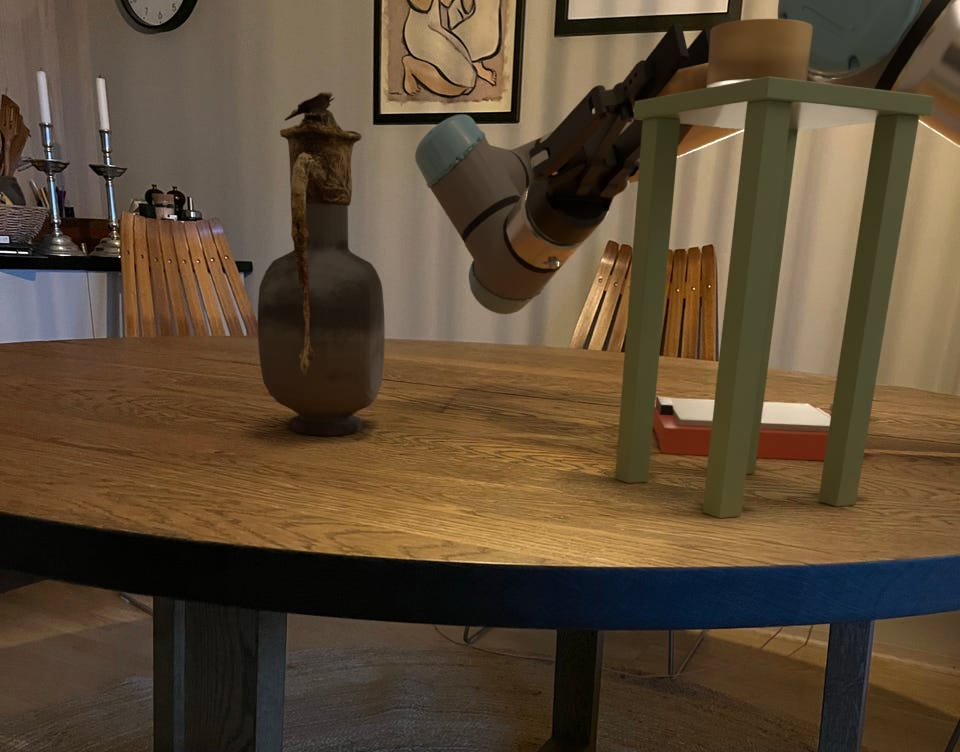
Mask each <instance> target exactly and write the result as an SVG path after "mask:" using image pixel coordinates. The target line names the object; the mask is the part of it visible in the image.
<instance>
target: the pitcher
mask: <svg viewBox="0 0 960 752" xmlns="http://www.w3.org/2000/svg"><path fill="white" fill-rule="evenodd" d="M333 95H334V94H333V93H332V92H331V91H329V92H326V91H325V92H324V91H323V92H319V93H318V94H317V95H315V96H313V97H311V98H307V99H305V100H304V101H301V102H300V103H299V104H298V105H297V108H294V109H293V110H292V112H291V113H290V114H289V115H287V116H286V117H285V118H284V121H285V122H286V121H289V120H290V119H293V118H295V117H296V116H299V115H303V116H304V117H303V118H302V119H301V121H300V122H299V124H295V125H294V126H290V127H286V128H282V129H280V130H279V135H280V137H282V138H285V139H286V140H287V146H288V155H289V156H288V157H289V182H290V183H289V184H290V185H289V187H290V214H291V231H290V232H291V233H290V234H291V235H290V236H291V239H292V241H293V247H294V248H293V250H291V251H290V252H288V253H286V254H284V255H282V256H280V257H278V258H275V259H274V260H273V261H271V262H270V264H269V266H268V268H267V269H266V270H265V272H264V274H263V277H262V280H261V281H260V284H259V287H258V299H257V300H258V301H257V339H258V340H257V343H258V356H259V363H260V370H261V371H260V372H261V377H262V382H263V384H264V386H265V388H266V390H267V391H268V393H269V395H270V396H271V397H272V398H273V399H274V401H276V402H277V403H278V404H280V405H282V406H283V407H286V408H288V409H289V410H292V412H294V413H296V414H297V415H296V416H293V417H292V418H291V419H290V421H289V428H290V430H291V431H293V432H295V433H296V434H301V435H306V436H319V437H332V436H333V437H335V436H346V435H351V434H356V433H358V432H359V431H361V430H362V429H363V420H362V418H360V417H359V416H356V413H357V412H359V411H361V410H363V409H365V408H368V407H370V406H372V404H373V403H374V402H375V400H376V398H377V396H378V394H379V392H380V390H381V386H382V382H383V375H384V363H385V361H384V360H385V337H386V335H385V332H386V331H385V330H386V329H385V305H384V304H385V302H384V291H383V285H382V280H381V278H380V276H379V274H378V271H377V270H376V268H375V267H374V266H373V264H372V263H371V262H369V261H368V260H366V259H364V258H363V257H360V256H359V255H356V254H355V253H353V252H352V251H351V250H350V248H349V206H351V202H352V194H353V179H352V178H353V177H352V155H353V149H354V146H355V144H356V143H357V142H359V141H361V140H362V139H363V137H362V134H361V133H359V132H357V131H355V130H354V131H353V130H343V129H342V128H341V127H340V126H339V124H338V122H337V121H336V119H335V116H334V113H333V112H332V111H331V110H329V109H328V108H329V107H330V106H331V104H330V103H331V102H332V101H334V100H335V99H336V97H333V98H332V96H333Z"/></svg>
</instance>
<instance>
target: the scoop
mask: <svg viewBox="0 0 960 752" xmlns="http://www.w3.org/2000/svg"><path fill="white" fill-rule="evenodd" d="M812 31H813V26H812V25H811V24H809V23H806V22H803V21H797V20H789V19H778V18H754V19H753V18H750V19H741V20H733V21H729V22H724V23H723V22H722V23H721V24H717V25H715V26H713V27H712V28H711V34H710V46H709V58H708V63H705V64H701V65H696V66H692V67H688V68H684V69H679V70H678V71H677V72H676V73H675V75H674V76H673V77H672V78H671V79H670V81H669V82H668V83H667V84H666V85H665V86H664V88H663V89H662V90H661V92H660V93H659V94H658V95H657V97H661V96H667V95H672V94H677V93H683V92H688V91H693V90H699V89H704V88H709V87H715V86H720V85H725V84H731V83H736V82H742V81H747V80H752V79H758V78H763V77H768V76H770V77H778V78H787V79H795V80H803V81H807V75H808V66H809V57H810V49H811V40H812ZM634 107H635V104H634V106H633V109H634Z"/></svg>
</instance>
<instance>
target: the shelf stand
mask: <svg viewBox="0 0 960 752" xmlns="http://www.w3.org/2000/svg"><path fill="white" fill-rule="evenodd" d="M933 98H934V97H933V96H929V95H920V94H912V93H904V92H895V91H887V90H879V89H870V88H862V87H854V86H845V85H837V84H829V83H820V82H812V81H803V80H795V79H787V78H778V77H770V76H768V77H763V78H758V79H752V80H747V81H742V82H736V83H731V84H725V85H720V86H715V87H709V88H704V89H699V90H693V91H688V92H683V93H677V94H672V95H667V96H661V97H656V98H651V99H645V100H640V101H635V107H634V119H636V120H643V124H642V137H641V150H640V163H639V176H638V181H637V192H636V203H635V217H634V229H633V241H632V254H631V266H630V267H631V269H630V281H629V283H630V284H629V292H628V293H629V295H628V306H627V308H628V309H627V319H626V330H625V331H626V332H625V345H624V359H623V372H622V382H621V383H622V384H621V394H620V395H621V397H620V410H619V423H618V436H617V448H616V459H615V460H616V462H615V473H614V478H615V479H616V480H619V481H621V482H622V483H623V482H624V483H626V484H636V483H637V484H639V483H648V482H649V476H650V475H649V474H650V464H651V454H652V453H651V452H652V442H653V430H654V428H653V420H654V409H655V401H656V398H657V385H658V376H659V375H658V373H659V364H660V363H659V362H660V353H661V352H660V351H661V341H662V340H661V339H662V331H663V330H662V329H663V319H664V309H665V308H664V307H665V297H666V284H667V273H668V263H669V262H668V261H669V252H670V251H669V250H670V239H671V229H672V217H673V205H674V195H675V194H674V193H675V184H676V172H677V161H678V157H677V151H678V140H679V129H680V124H690V125H701V126H712V127H723V128H734V129H744V131H743V136H742V137H743V138H742V147H741V155H740V164H739V174H738V184H737V192H736V199H735V200H736V201H735V208H734V218H733V220H734V221H733V226H732V227H733V228H732V238H731V247H730V256H729V264H728V274H727V282H726V284H727V285H726V290H725V291H726V292H725V303H724V311H723V318H722V319H723V320H722V328H721V338H720V347H719V355H718V356H719V357H718V366H717V372H716V373H717V374H716V383H715V394H714V400H715V401H714V410H713V419H712V428H711V437H710V446H709V455H707V465H706V475H705V484H704V485H705V486H704V492H703V493H704V494H703V503H702V510H701V511H702V513H704V514H707V515H710V516H711V517H715V518H717V519H725V518H735V517H742V509H743V503H744V493H745V486H746V478H747V475H754V474H756V473H755V472H756V465H757V450H758V442H759V434H760V427H761V419H762V411H763V403H764V402H765V393H766V385H767V378H768V372H769V371H768V369H769V364H770V363H769V362H770V356H771V349H772V348H771V346H772V339H773V331H774V324H775V317H776V316H775V315H776V307H777V299H778V292H779V283H780V276H781V275H780V274H781V267H782V261H783V254H784V253H783V252H784V246H785V245H784V243H785V237H786V236H785V235H786V230H787V229H786V227H787V219H788V213H789V206H790V205H789V204H790V197H791V190H792V189H791V188H792V180H793V173H794V172H793V171H794V165H795V157H796V150H797V141H798V133H799V132H802V131H803V132H804V131H809V130H819V129H828V128H837V127H846V126H853V125H861V124H862V125H863V124H869V123H870V124H871V123H874V129H873V135H872V140H871V148H870V154H869V160H868V168H867V175H866V181H865V188H864V194H863V200H862V206H861V207H862V208H861V212H860V213H861V214H860V222H859V226H858V234H857V239H856V241H857V242H856V248H855V254H854V260H853V261H854V262H853V268H852V274H851V275H852V276H851V280H850V286H849V287H850V288H849V295H848V301H847V306H846V314H845V320H844V327H843V333H842V341H841V347H840V352H839V353H840V354H839V361H838V368H837V374H836V380H835V387H834V392H833V393H834V394H833V400H832V403H833V406H832V413H831V412H830V414H831V420H830V426H829V433H828V440H827V446H826V453H825V459H824V461H823V468H822V473H821V480H820V486H819V493H818V500H817V501H818V502H819V503H824V504H827V505H830V506H833V507H836V508H837V507H848V506H856V505H857V500H858V493H859V487H860V481H861V475H862V469H863V463H864V457H865V450H866V444H867V439H868V432H869V427H870V421H871V414H872V408H873V403H874V396H875V389H876V384H877V377H878V371H879V365H880V358H881V352H882V346H883V340H884V334H885V328H886V322H887V317H888V316H887V315H888V310H889V305H890V304H889V303H890V297H891V291H892V286H893V285H892V284H893V279H894V273H895V267H896V262H897V254H898V250H899V249H898V248H899V243H900V237H901V232H902V224H903V219H904V212H905V206H906V200H907V194H908V188H909V182H910V177H911V176H910V175H911V170H912V163H913V157H914V151H915V144H916V139H917V134H918V127H919V117H924V116H930V115H931V110H932V104H933Z"/></svg>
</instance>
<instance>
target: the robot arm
mask: <svg viewBox="0 0 960 752" xmlns="http://www.w3.org/2000/svg"><path fill="white" fill-rule="evenodd" d="M777 2H778V3H777V19H789V20H797V21H803V22H806V23H809V24H811V25H812V26H813V31H812V40H811V49H810V57H809V66H808V75H807V81H812V82H820V83H829V84H837V85H845V86H854V87H862V88H870V89H879V90H887V91H895V92H904V93H912V94H920V95H929V96H933V97H934V98H933V104H932V110H931V115H930V116H924V117H919V121H918V123H921V124H923V125H924V126H926V127H927V128H928V129H930V130H932V131H934V132H935V133H936V134H938V135H940V136H941V137H943V138H944V139H945V140H947V141H949V142H951V143H952V144H954V145H956V146H957V147H959V148H960V0H778V1H777ZM711 29H712V28H709V27H703V29H702V30H701V31H700V32H699V34H698V35H697V36H696V37H695V39H693V41H692V43H690V44H689V46H687V42H686V38H685V37H686V36H685V34H684V33H685V32H684V29H683V25H682V24H681V23H672V25H671V26H670V27H669V29H668V30H667V31H666V33H665V34H664V35H663V36H662V38H661V39H660V40H659V42H658V43H657V44H656V46H655V47H654V48H653V49H652V51H650V53H649V55H648V56H647V57H646V59H644V60H643V59H641V60H639V61H638V62H637V63H636V64H635V65H634V66H633V67H632V69H631V70H630V72H629V73H628V74H627V76H626V77H625V78H624V79H623V81H621V82H618V83H616V84H614V86H613V87H612V88H611V89H606V87H605V86H604V85H602V84H600V85H599V84H598V85H595V86H593V87H592V88H591V89H590V90H589V91H588V92H587V94H585V96H584V97H583V98H582V99H581V100H580V101H579V102H578V104H577V105H576V106H574V108H573V109H572V110H571V111H570V112H569V113H568V115H567V116H566V117H565V118H564V119H563V120H562V121H561V122H560V123H559V124H558V126H557V127H556V128H555V129H554V130H553V131H551V132H548V133H546V134H544V135H542V136H541V137H539V138H536V139H533V140H531V141H529V142H527V143H525V144H522V145H520V146H517V147H515V148H513V149H508V148H504V147H500V146H495V145H491V144H490V143H489V141H488V139H487V138H486V133H485V131H482V130H481V128H480V127H479V126H478V125H477V122H476V121H475V120H474V119H473V118H472V117H471V116H470V115H468V114H455V115H453V116H450V117H448V118H446V119H444V120H442V121H441V122H439V123H438V124H436V125H435V126H434V127H432V128H431V129H430V130H429V131H428V132H427V133H426V134H425V135H424V136H423V137H422V138H421V140H420V141H419V143H418V145H417V146H416V149H415V153H414V158H415V163H416V165H417V167H418V169H419V171H420V172H421V175H422V177H423V178H424V181H425V182H426V187H427V188H428V189H430V190H431V192H432V194H433V195H434V197H435V199H436V200H437V201H438V203H439V204H440V207H441V208H442V210H443V211H444V212H445V214H446V216H447V218H448V219H449V220H450V222H451V224H452V226H453V227H454V228H455V230H456V232H457V234H458V235H459V237H460V238H461V240H462V242H463V243H464V246H465V248H466V249H467V251H468V253H469V254H470V256H471V257H472V259H473V260H472V261H471V264H470V268H469V271H468V282H469V288H470V289H469V290H470V291H471V293H472V295H473V297H474V299H475V300H476V301H477V302H478V303H479V305H481V306H482V307H483V308H485V309H486V310H488V311H490V312H492V313H495V314H499V315H511V314H515V313H517V312H520V311H521V310H522V309H524V308H525V307H526V306H527V305H528V304H529V303H531V301H533V299H534V298H536V297H538V296H539V295H540V294H541V293H542V291H543V290H544V289H545V287H546V286H547V284H549V282H550V281H551V280H552V279H553V278H554V276H555V275H556V274H557V273H558V271H559V270H560V269H561V268H562V267H563V266H564V265H565V263H566V262H567V261H568V260H569V259H570V258H571V257H572V256H573V255H574V254H575V253H576V252H577V250H578V249H579V248H580V247H581V246H582V245H583V244H584V243H585V241H586V240H587V239H588V238H589V237H590V236H591V235H592V234H593V233H595V231H596V230H597V228H599V226H600V225H601V224H602V223H603V222H604V221H605V219H606V218H607V216H608V214H609V211H610V208H611V207H612V203H613V200H614V198H615V197H616V196H617V195H619V194H621V193H623V192H624V191H626V190H627V188H628V187H629V185H630V184H632V183H636V182H637V183H638V176H639V163H640V150H641V137H642V124H643V120H636V119H634V109H633V106H634V104H635V101H640V100H645V99H651V98H656V97H657V95H658V94H659V93H660V92H661V90H662V89H663V88H664V86H665V85H666V84H667V83H668V82H669V81H670V79H671V78H672V77H673V76H674V75H675V73H676V72H677V71H678V70H679V69H684V68H688V67H692V66H696V65H701V64H705V63H708V58H709V46H710V34H711ZM593 110H594V112H593ZM741 132H744V129H734V128H723V127H712V126H701V125H690V124H680V129H679V140H678V151H677V158H680V157H682V156H685V155H687V154H689V153H692V152H694V151H695V152H696V151H697V150H700V149H702V148H705V147H707V146H709V145H713V144H714V143H716V142H719V141H722V140H724V139H727V138H729V137H732V136H735V135H737V134H739V133H741Z"/></svg>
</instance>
